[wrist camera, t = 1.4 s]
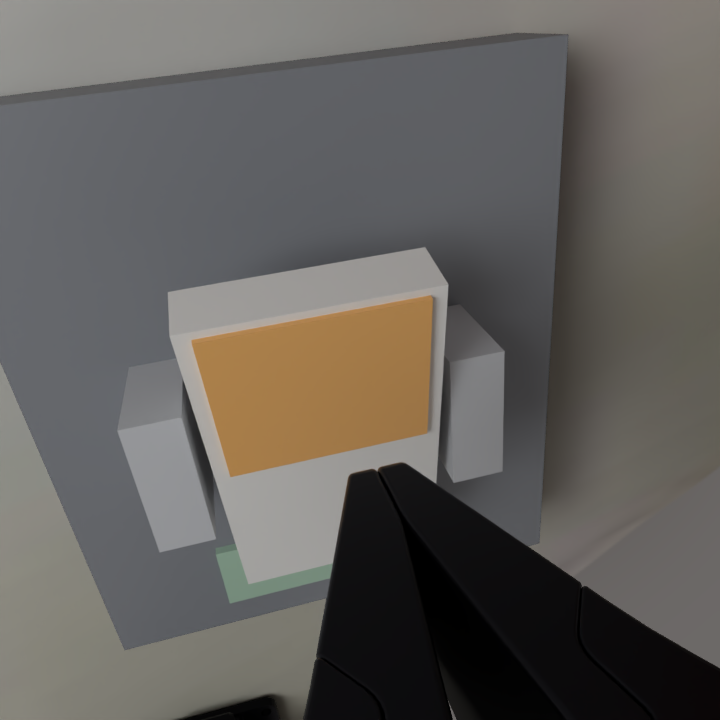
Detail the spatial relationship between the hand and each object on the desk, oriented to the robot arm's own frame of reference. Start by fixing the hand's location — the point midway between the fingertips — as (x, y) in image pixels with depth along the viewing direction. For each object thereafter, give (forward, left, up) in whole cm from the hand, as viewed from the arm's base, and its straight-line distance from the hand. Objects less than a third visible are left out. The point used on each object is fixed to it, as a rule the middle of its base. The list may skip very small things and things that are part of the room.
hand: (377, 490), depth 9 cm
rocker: (-4, 0, -7) cm, 8 cm away
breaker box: (-4, 0, -12) cm, 13 cm away
